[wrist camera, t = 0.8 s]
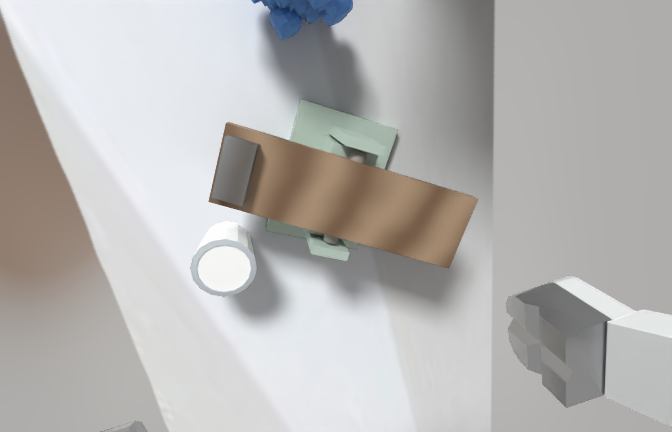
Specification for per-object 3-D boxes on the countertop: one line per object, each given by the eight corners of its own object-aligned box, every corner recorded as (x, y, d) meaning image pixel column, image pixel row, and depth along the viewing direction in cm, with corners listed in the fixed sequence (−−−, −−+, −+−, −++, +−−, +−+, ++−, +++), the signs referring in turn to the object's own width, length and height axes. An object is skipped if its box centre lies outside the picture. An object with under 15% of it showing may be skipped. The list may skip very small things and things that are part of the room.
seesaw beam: (211, 205, 40) (201, 215, 37) (233, 111, 38) (224, 112, 34) (439, 268, 44) (450, 283, 40) (474, 185, 41) (488, 194, 37)
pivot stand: (300, 98, 43) (312, 104, 35) (395, 128, 47) (428, 140, 38) (265, 227, 48) (268, 261, 39) (354, 246, 51) (376, 281, 42)
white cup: (267, 243, 48) (270, 269, 42) (227, 277, 49) (223, 308, 42) (229, 205, 46) (225, 226, 39) (186, 241, 46) (175, 268, 40)
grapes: (221, 28, 39) (209, 9, 28) (233, -46, 38) (225, -97, 27) (329, 60, 43) (356, 54, 32) (345, -6, 41) (379, -37, 30)
